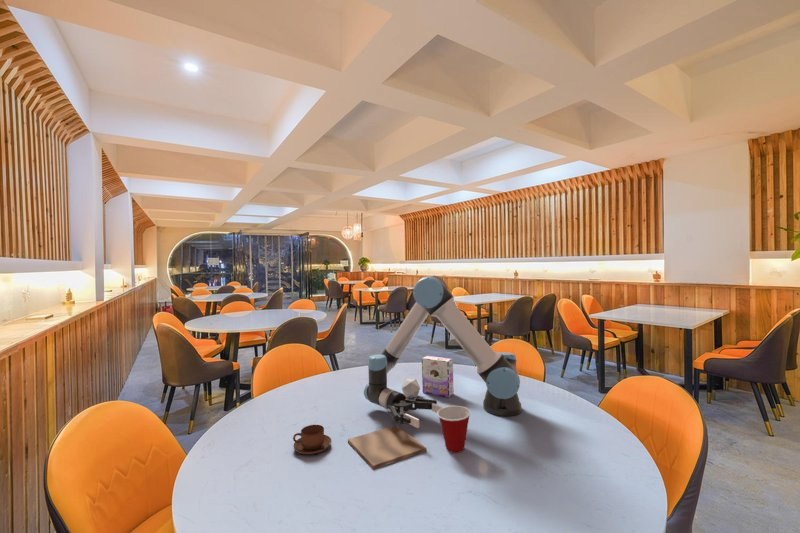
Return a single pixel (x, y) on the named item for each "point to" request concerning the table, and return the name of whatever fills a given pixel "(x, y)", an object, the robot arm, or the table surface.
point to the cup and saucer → (311, 440)
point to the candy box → (437, 376)
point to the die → (410, 388)
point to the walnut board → (386, 446)
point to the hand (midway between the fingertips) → (432, 417)
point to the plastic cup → (454, 426)
